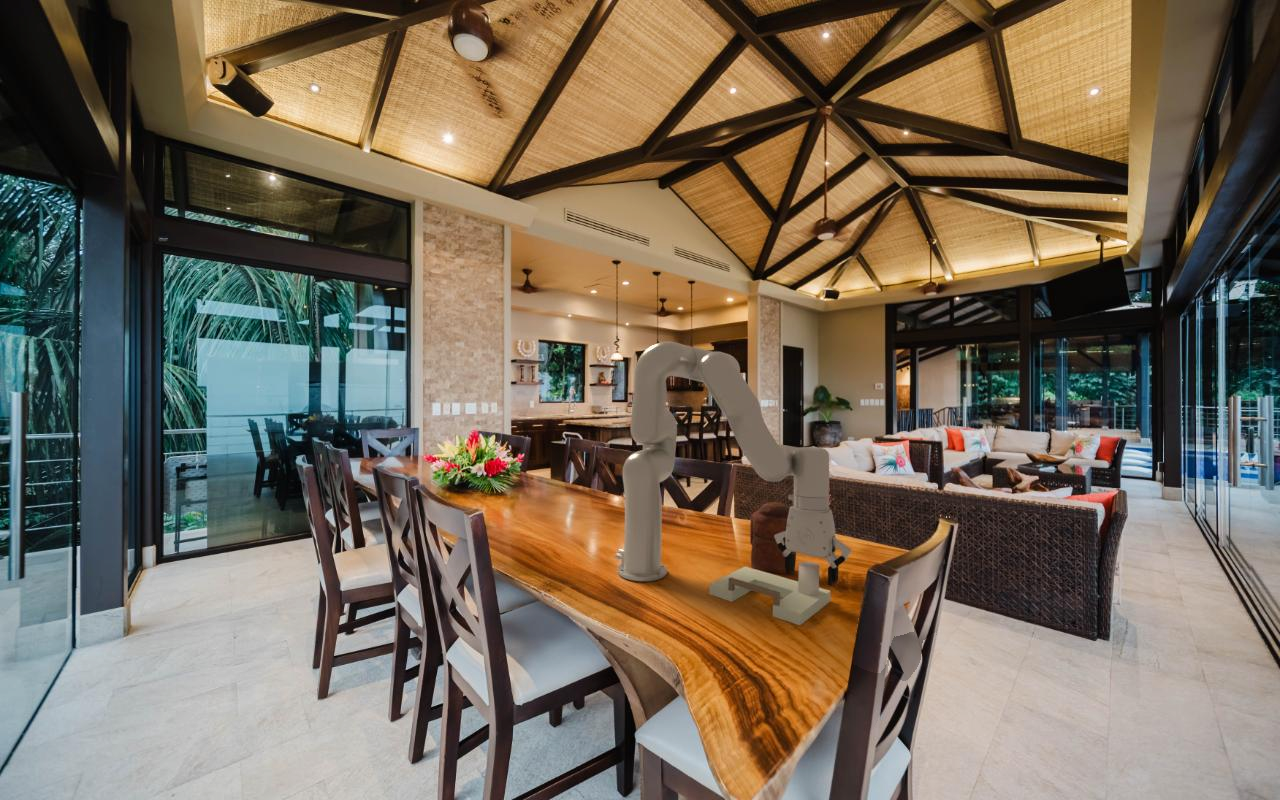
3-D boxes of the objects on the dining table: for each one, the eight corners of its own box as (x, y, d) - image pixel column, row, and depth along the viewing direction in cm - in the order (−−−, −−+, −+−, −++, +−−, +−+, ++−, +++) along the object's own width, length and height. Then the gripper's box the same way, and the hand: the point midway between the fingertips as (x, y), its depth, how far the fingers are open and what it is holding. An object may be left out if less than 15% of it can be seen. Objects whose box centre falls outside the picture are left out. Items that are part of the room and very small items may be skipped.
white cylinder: (794, 591, 112) (795, 565, 112) (803, 586, 116) (803, 560, 115) (813, 597, 109) (814, 570, 109) (821, 591, 113) (822, 565, 112)
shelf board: (709, 594, 116) (709, 572, 116) (744, 575, 128) (745, 556, 128) (799, 625, 101) (800, 601, 101) (830, 601, 113) (830, 579, 113)
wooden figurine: (794, 568, 134) (796, 501, 134) (795, 576, 128) (797, 506, 127) (749, 563, 137) (751, 498, 137) (748, 571, 131) (750, 503, 131)
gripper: (767, 499, 115) (767, 573, 115) (844, 511, 103) (843, 593, 104) (782, 494, 120) (782, 565, 121) (856, 505, 109) (856, 583, 109)
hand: (810, 578), depth 112 cm, fingers open, 9 cm apart
